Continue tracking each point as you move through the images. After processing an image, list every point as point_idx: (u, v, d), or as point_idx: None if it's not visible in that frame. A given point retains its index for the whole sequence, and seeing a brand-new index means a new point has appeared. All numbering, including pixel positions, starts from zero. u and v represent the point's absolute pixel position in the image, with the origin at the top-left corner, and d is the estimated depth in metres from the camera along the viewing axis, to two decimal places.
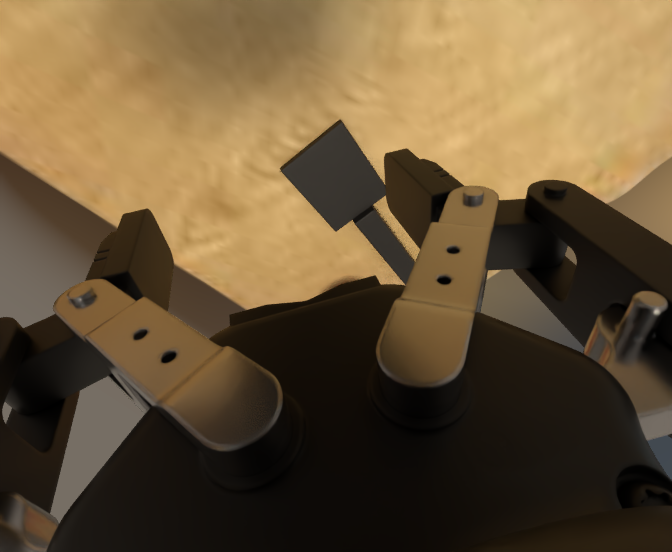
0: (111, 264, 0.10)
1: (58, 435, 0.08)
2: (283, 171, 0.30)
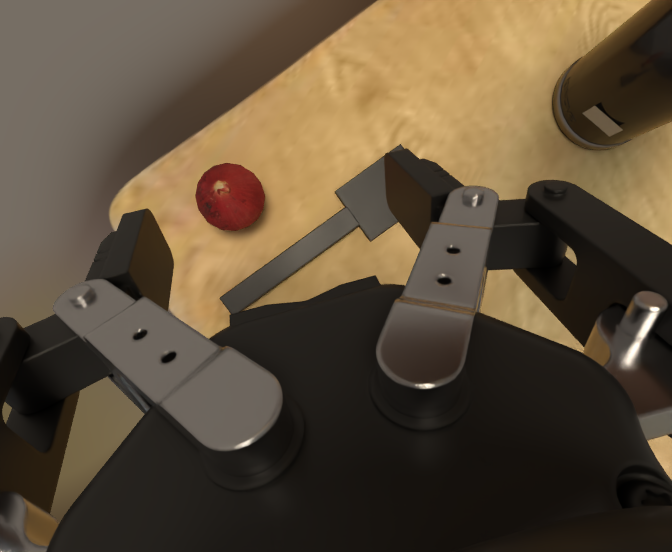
0: (111, 264, 0.10)
1: (58, 436, 0.08)
2: (400, 145, 0.38)
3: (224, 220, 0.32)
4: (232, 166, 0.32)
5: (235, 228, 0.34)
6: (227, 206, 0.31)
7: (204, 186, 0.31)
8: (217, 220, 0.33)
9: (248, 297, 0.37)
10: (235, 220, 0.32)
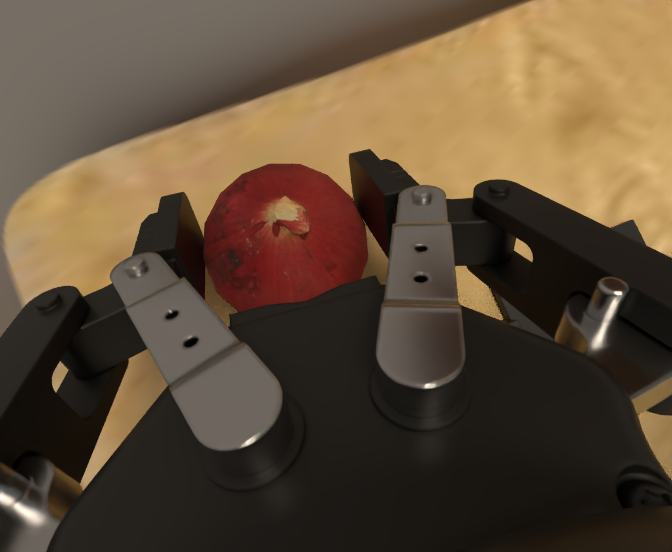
0: (158, 240, 0.10)
1: (102, 404, 0.09)
2: (632, 222, 0.19)
3: (264, 304, 0.12)
4: (318, 174, 0.13)
5: None
6: (287, 272, 0.11)
7: (238, 204, 0.11)
8: (244, 300, 0.12)
9: None
10: None
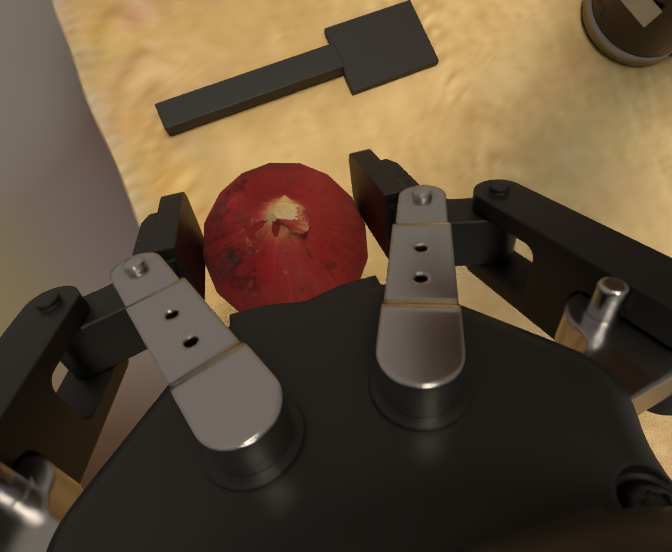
0: (158, 240, 0.10)
1: (102, 404, 0.09)
2: (408, 1, 0.33)
3: (264, 303, 0.12)
4: (317, 173, 0.13)
5: None
6: (286, 271, 0.11)
7: (238, 203, 0.11)
8: (244, 299, 0.12)
9: (190, 112, 0.30)
10: None
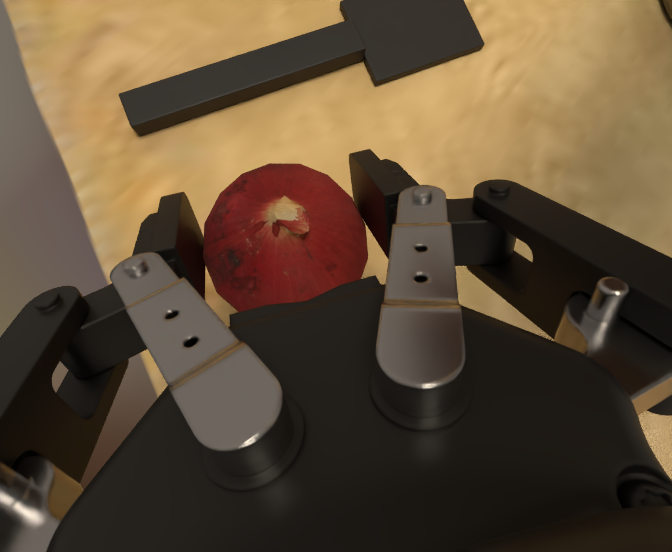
0: (158, 240, 0.10)
1: (101, 404, 0.09)
2: None
3: (264, 304, 0.12)
4: (318, 174, 0.13)
5: None
6: (286, 272, 0.11)
7: (238, 204, 0.11)
8: (244, 300, 0.12)
9: (165, 105, 0.23)
10: None
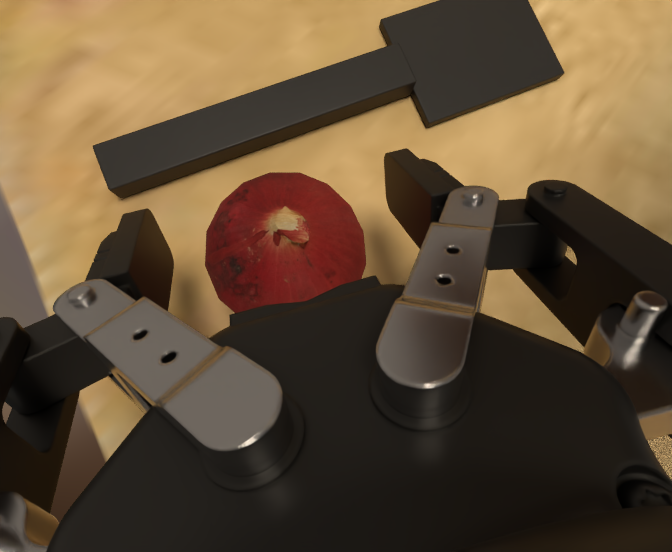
0: (111, 264, 0.10)
1: (58, 436, 0.08)
2: None
3: None
4: (317, 183, 0.13)
5: None
6: (287, 279, 0.11)
7: (240, 213, 0.12)
8: (246, 306, 0.12)
9: (154, 159, 0.17)
10: None
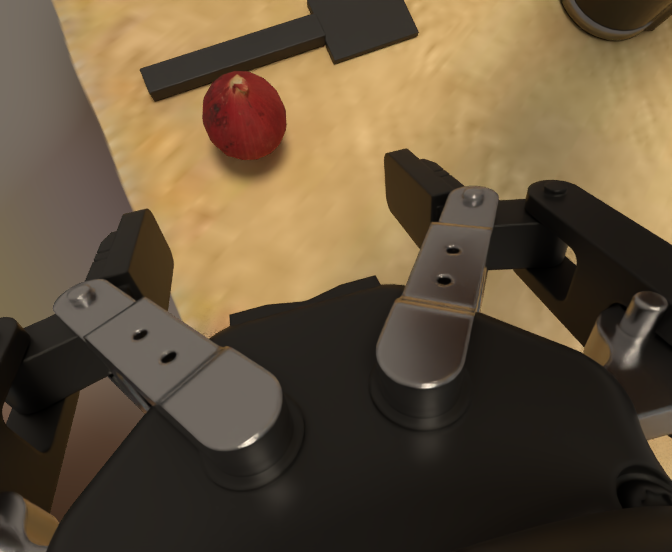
0: (111, 264, 0.10)
1: (58, 436, 0.08)
2: None
3: (231, 133, 0.26)
4: None
5: (241, 151, 0.27)
6: (240, 113, 0.25)
7: (218, 83, 0.25)
8: (222, 132, 0.26)
9: (174, 77, 0.30)
10: (244, 138, 0.26)
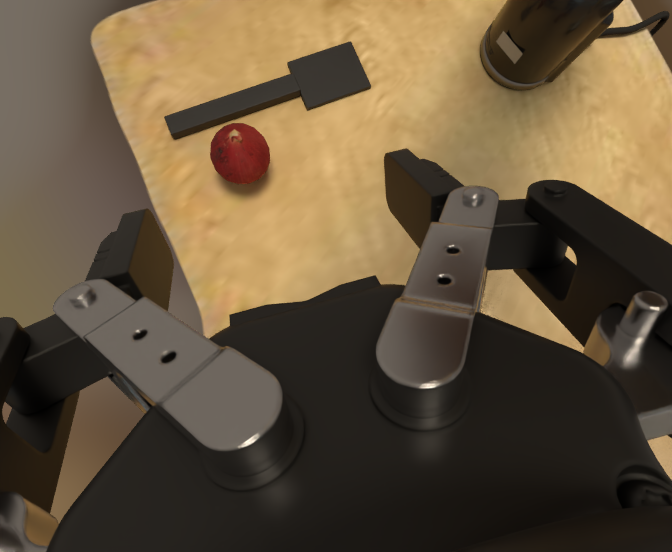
0: (111, 264, 0.10)
1: (58, 436, 0.08)
2: (350, 42, 0.45)
3: (230, 167, 0.37)
4: (249, 126, 0.38)
5: (237, 179, 0.38)
6: (236, 154, 0.36)
7: (221, 133, 0.36)
8: (224, 167, 0.37)
9: (189, 122, 0.42)
10: (240, 170, 0.37)
